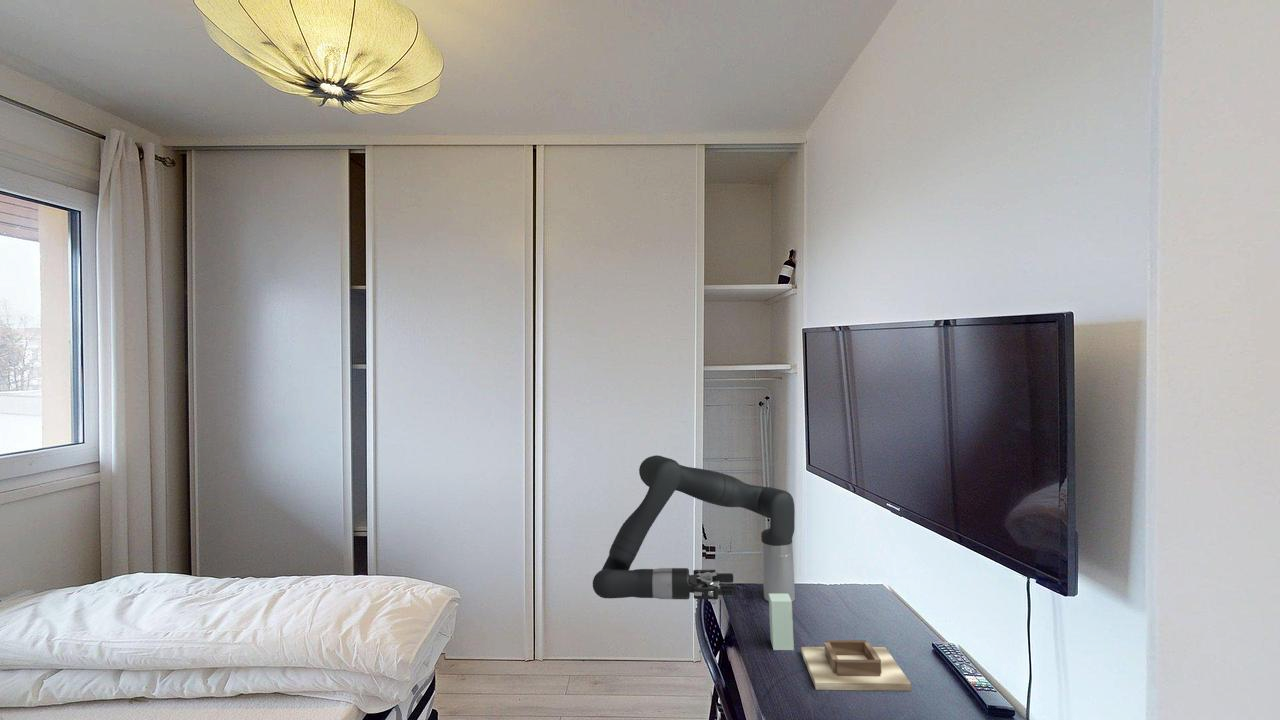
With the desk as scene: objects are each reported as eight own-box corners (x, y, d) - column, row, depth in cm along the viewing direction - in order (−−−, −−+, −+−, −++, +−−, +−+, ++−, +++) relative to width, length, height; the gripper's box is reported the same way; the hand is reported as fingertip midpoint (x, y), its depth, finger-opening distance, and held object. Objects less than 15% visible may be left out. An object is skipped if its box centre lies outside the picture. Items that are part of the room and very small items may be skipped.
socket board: (801, 653, 138) (800, 634, 138) (885, 653, 136) (884, 634, 136) (815, 689, 122) (814, 668, 122) (911, 690, 120) (910, 669, 121)
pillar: (770, 640, 145) (768, 593, 145) (790, 640, 145) (788, 593, 145) (773, 650, 140) (771, 601, 140) (793, 650, 140) (791, 601, 140)
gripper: (669, 578, 138) (736, 579, 137) (671, 559, 152) (732, 560, 151) (670, 609, 138) (737, 610, 136) (672, 587, 152) (732, 588, 151)
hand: (734, 583), depth 144 cm, fingers open, 8 cm apart
